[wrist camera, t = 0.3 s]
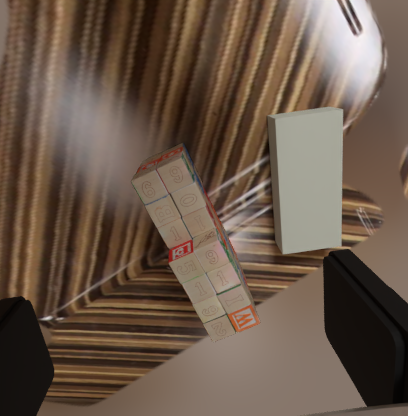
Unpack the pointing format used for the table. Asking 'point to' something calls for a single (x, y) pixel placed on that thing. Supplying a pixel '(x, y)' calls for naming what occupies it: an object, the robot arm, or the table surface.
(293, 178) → the base block
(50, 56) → the table surface
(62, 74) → the table surface
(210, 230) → the stack of blocks
